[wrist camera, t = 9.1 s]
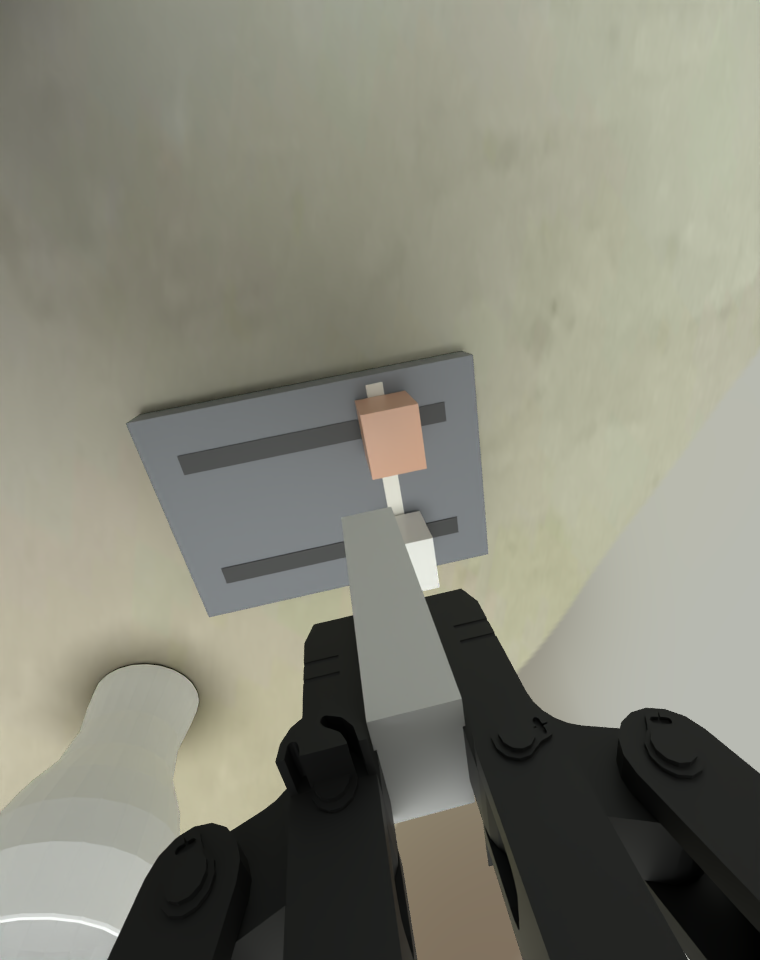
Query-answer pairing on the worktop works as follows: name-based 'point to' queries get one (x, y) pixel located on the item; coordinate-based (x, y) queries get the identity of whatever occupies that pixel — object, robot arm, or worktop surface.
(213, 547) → the console
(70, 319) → the worktop surface
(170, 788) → the cup
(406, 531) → the block
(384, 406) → the fader front
